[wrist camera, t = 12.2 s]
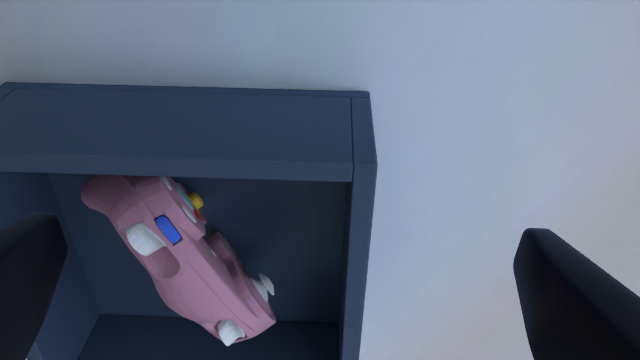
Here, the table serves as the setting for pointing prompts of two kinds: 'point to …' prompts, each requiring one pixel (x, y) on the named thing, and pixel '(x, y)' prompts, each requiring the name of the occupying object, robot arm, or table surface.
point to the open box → (218, 207)
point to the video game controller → (183, 254)
